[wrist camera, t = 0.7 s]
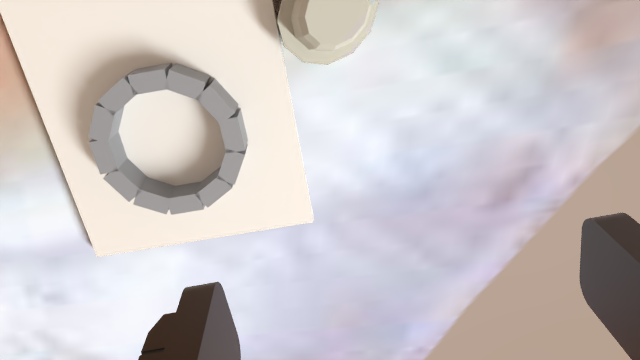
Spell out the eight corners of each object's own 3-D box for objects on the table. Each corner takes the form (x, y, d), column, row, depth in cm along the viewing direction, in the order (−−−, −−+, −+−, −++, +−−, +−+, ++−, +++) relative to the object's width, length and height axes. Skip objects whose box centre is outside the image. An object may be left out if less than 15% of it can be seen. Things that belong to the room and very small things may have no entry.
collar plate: (-10, -38, 30) (-41, -37, 28) (256, -86, 30) (252, -90, 27) (101, 249, 38) (86, 272, 36) (313, 215, 38) (314, 235, 35)
